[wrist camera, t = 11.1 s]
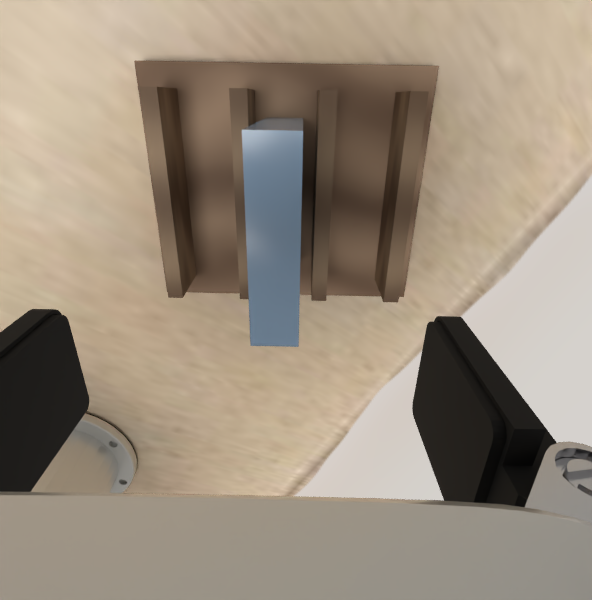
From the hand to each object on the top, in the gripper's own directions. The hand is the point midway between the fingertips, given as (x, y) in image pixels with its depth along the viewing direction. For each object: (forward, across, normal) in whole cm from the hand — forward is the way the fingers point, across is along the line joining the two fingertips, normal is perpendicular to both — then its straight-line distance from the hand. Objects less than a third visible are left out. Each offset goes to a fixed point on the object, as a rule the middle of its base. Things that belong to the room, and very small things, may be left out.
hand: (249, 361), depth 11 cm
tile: (+20, 0, 0) cm, 20 cm away
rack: (+21, 0, 0) cm, 21 cm away
